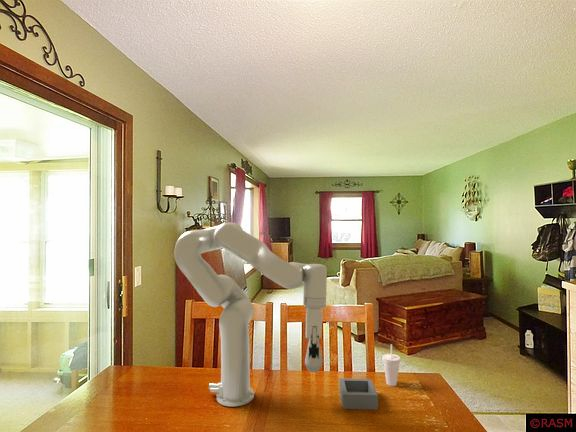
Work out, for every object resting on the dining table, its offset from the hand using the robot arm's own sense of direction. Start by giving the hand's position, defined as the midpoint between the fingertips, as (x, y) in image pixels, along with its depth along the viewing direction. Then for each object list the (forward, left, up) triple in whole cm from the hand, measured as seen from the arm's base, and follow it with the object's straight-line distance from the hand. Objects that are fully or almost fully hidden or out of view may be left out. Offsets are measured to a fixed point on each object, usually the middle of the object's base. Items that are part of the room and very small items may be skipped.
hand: (313, 356), depth 115 cm
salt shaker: (0, 0, -4) cm, 4 cm away
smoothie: (+29, +13, -15) cm, 35 cm away
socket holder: (+15, +1, -15) cm, 21 cm away
